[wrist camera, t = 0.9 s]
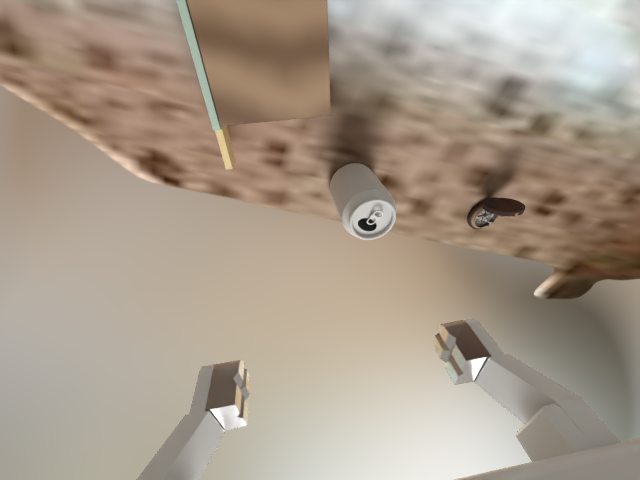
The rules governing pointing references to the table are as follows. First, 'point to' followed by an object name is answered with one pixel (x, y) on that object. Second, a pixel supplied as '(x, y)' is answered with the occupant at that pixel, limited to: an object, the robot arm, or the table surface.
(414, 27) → the table surface
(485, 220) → the compass
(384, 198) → the can
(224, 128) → the green yellow-tipped stick
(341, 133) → the table surface
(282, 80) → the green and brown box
